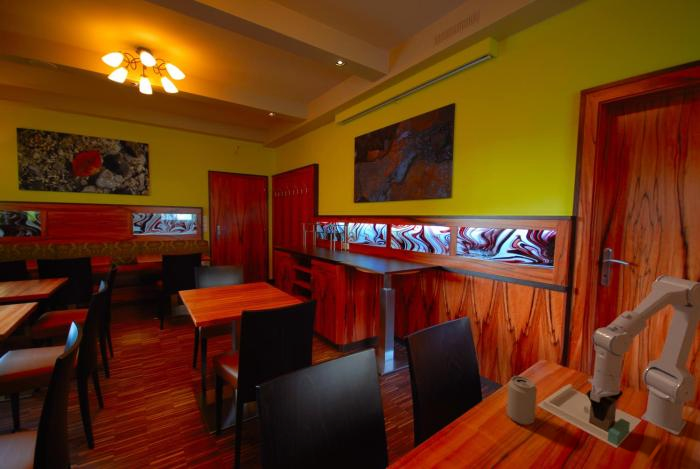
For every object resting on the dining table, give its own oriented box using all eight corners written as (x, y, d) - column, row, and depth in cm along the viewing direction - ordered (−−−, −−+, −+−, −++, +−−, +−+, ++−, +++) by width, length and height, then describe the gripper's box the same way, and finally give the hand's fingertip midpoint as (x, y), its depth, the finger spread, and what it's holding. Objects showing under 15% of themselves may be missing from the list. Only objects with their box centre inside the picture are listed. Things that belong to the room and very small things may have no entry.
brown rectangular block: (595, 416, 93) (598, 392, 92) (614, 426, 90) (617, 400, 89) (588, 422, 91) (591, 397, 90) (607, 432, 87) (610, 405, 86)
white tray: (565, 387, 111) (565, 377, 110) (641, 421, 94) (642, 410, 93) (536, 406, 100) (537, 396, 100) (616, 449, 83) (617, 437, 83)
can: (527, 410, 99) (530, 374, 97) (539, 427, 91) (542, 389, 90) (502, 408, 99) (505, 373, 98) (512, 425, 92) (515, 387, 90)
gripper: (600, 358, 96) (596, 399, 97) (579, 372, 88) (575, 416, 89) (630, 368, 90) (625, 412, 91) (610, 384, 82) (605, 432, 84)
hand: (602, 415), depth 90 cm, fingers closed on brown rectangular block, 4 cm apart
